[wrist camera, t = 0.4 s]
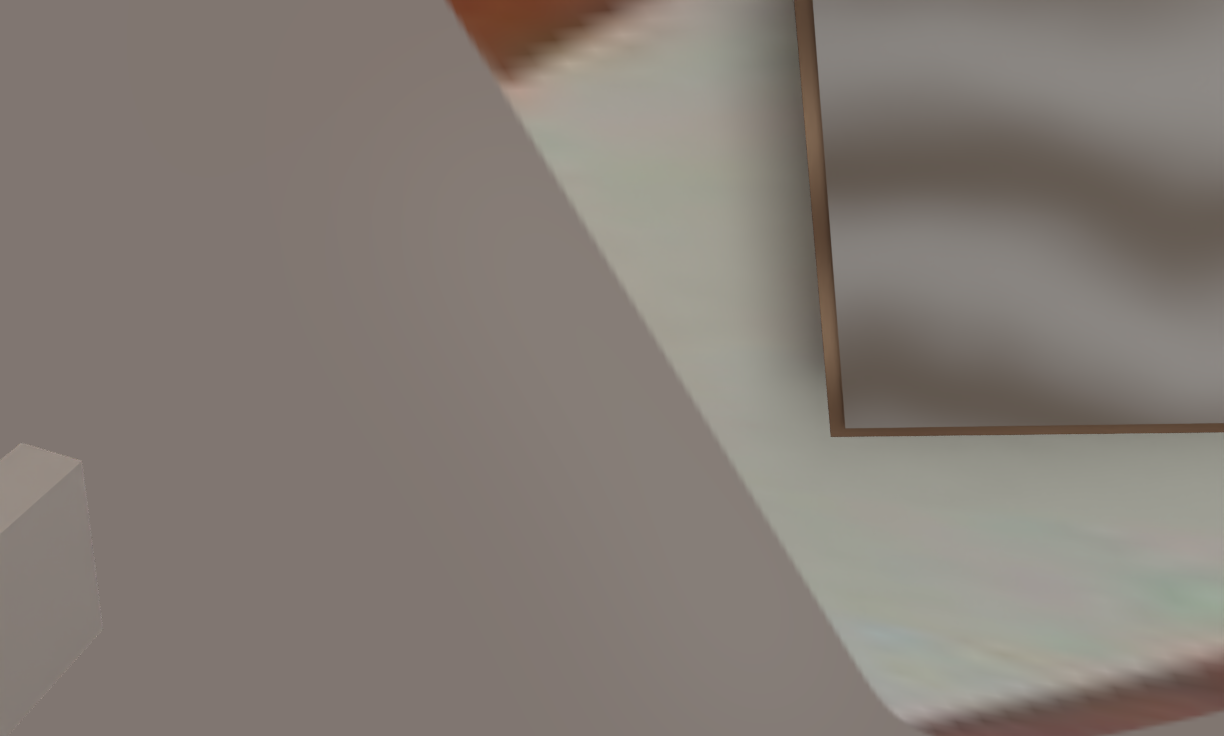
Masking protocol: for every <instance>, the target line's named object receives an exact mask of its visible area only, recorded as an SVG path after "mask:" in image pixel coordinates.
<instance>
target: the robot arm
mask: <svg viewBox="0 0 1224 736" xmlns="http://www.w3.org/2000/svg"><path fill="white" fill-rule="evenodd" d="M102 630H103V627H102V618H101V610H100V602H99V594H98V586H97V578H96V570H95V561H94V553H93V545H92V537H91V530H90V521H89V513H88V505H87V497H86V489H85V480H84V472H83V464H82V461H81V460H77V459H74V458H71V457H67V456H64V455H61V454H57V453H54V452H51V451H48V450H44V449H41V448H38V447H34V446H31V445H28V444H24V443H21V444H19V445H18V446H17V447H16V448H15V449H13V450H12V451H11V452H10V453H8V454H7V455H6V456H5V457H3V458H2V459H1V460H0V736H8V735H9V734H10V733H11V732H12V731H13V730H14V729H15V728H16V726H17V725H18V724H19V723H20V722H21V721H22V720H23V719H24V717H25V716H26V715H27V714H28V713H29V712H30V711H31V710H32V708H33V707H34V706H35V705H36V704H37V703H38V702H39V700H40V699H41V698H42V697H43V696H44V695H45V694H46V693H47V692H48V690H49V689H50V688H51V687H52V686H53V685H54V684H55V682H56V681H57V680H58V679H59V678H60V677H61V676H62V675H63V674H64V672H65V671H66V670H67V669H68V668H69V667H70V666H71V664H72V663H73V662H74V661H75V660H76V659H77V658H78V657H79V656H80V654H81V653H82V652H83V651H84V650H85V649H86V648H87V647H88V645H89V644H90V643H91V642H92V641H93V640H94V639H95V638H96V636H97V635H98V634H99V633H100V632H101V631H102Z"/></svg>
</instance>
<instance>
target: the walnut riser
mask: <svg viewBox="0 0 1224 736" xmlns="http://www.w3.org/2000/svg"><path fill="white" fill-rule="evenodd" d="M794 5H795V17H796V28H797V40H798V52H799V64H800V76H801V88H802V100H803V112H804V123H805V135H806V147H807V159H808V171H809V183H810V195H811V207H812V219H813V230H814V242H815V254H816V266H817V278H818V290H819V302H820V314H821V325H822V337H823V349H824V361H825V373H826V385H827V397H828V409H829V420H830V432H831V437H860V436H945V435H1030V434H1115V433H1200V432H1224V0H794Z"/></svg>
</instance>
